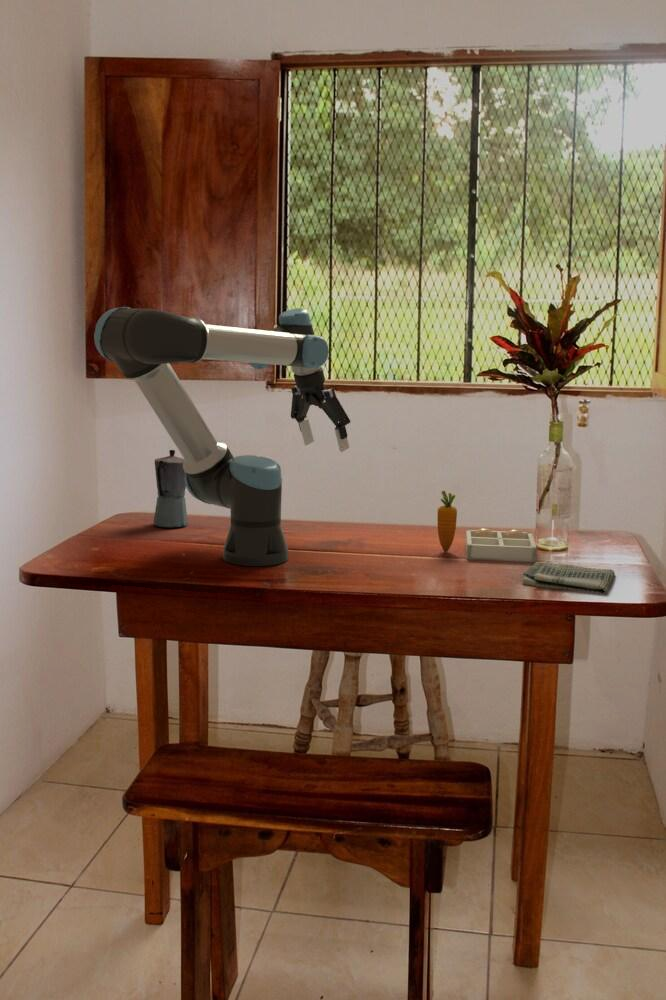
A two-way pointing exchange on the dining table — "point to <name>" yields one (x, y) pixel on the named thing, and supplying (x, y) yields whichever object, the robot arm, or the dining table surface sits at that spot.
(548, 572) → the dish towel
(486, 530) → the brown egg left
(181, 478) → the moka pot
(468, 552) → the carton
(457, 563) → the dining table surface
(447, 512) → the carrot
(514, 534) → the brown egg right
